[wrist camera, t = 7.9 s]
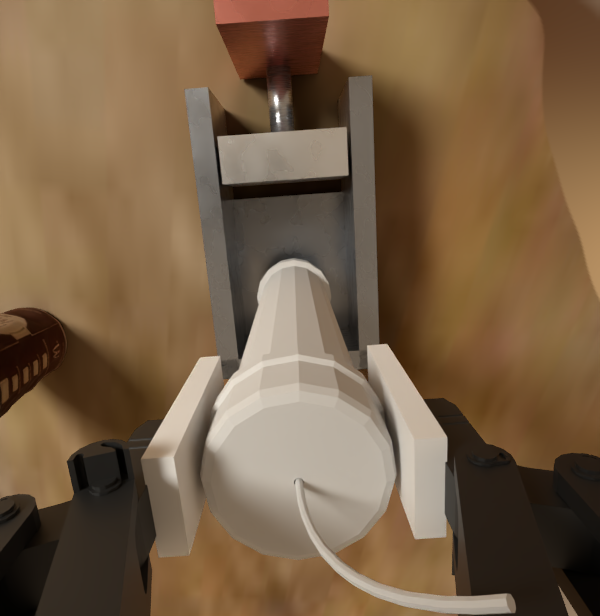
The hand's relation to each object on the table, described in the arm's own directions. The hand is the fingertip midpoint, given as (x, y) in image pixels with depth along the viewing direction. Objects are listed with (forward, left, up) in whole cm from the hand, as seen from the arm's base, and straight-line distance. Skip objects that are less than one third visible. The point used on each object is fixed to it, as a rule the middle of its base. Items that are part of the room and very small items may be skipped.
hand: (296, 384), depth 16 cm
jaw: (-13, 0, -22) cm, 25 cm away
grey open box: (-4, 0, -22) cm, 22 cm away
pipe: (0, 0, -19) cm, 19 cm away
